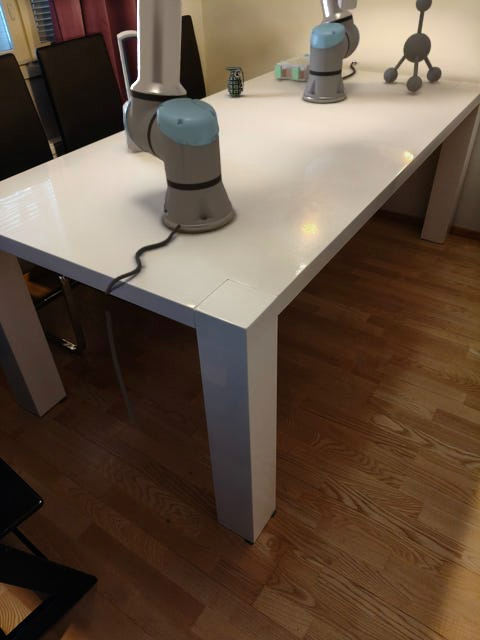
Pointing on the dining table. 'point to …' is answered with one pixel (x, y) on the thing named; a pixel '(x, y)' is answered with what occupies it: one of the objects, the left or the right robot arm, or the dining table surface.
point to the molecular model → (416, 54)
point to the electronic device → (127, 76)
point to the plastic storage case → (294, 68)
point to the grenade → (235, 81)
